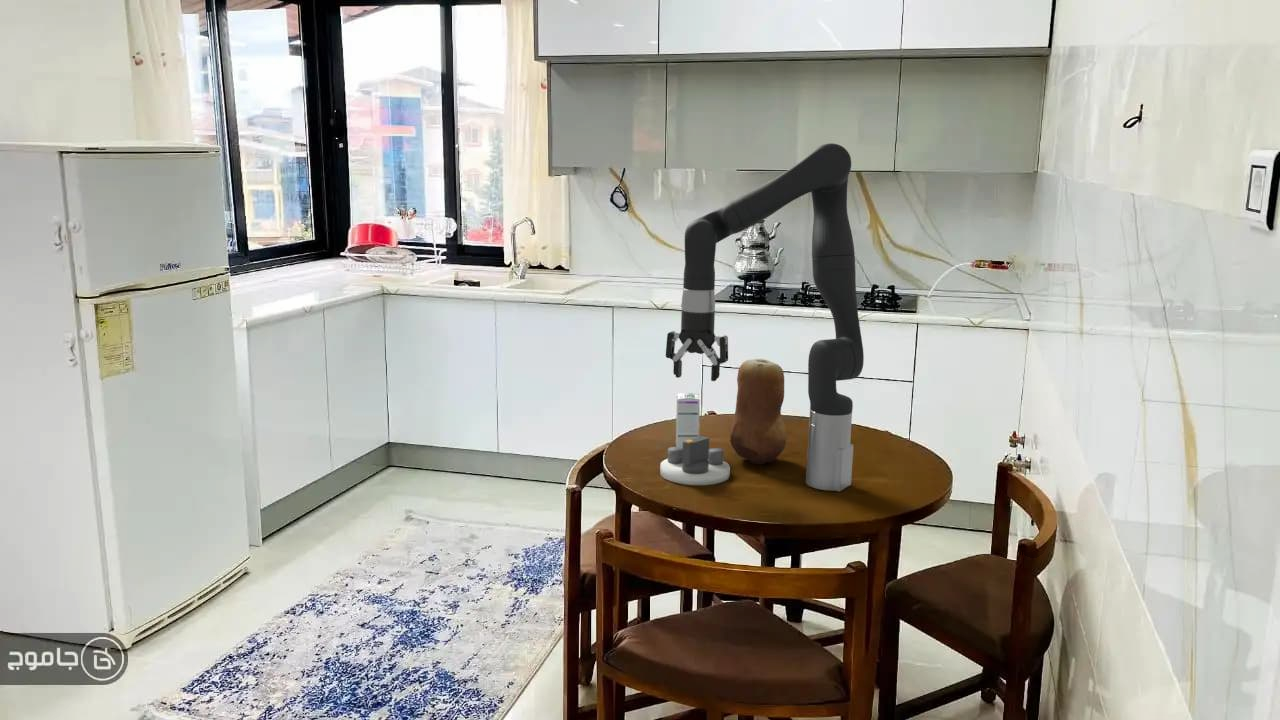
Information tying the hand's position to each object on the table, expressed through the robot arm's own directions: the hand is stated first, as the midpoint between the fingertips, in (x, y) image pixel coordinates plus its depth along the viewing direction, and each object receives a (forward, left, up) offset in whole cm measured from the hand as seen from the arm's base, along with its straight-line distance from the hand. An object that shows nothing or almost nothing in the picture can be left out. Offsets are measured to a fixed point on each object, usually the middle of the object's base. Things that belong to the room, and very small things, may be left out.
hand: (696, 378), depth 217 cm
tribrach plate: (-1, +1, -22) cm, 22 cm away
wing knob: (-3, +4, -20) cm, 21 cm away
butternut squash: (-7, -17, -22) cm, 29 cm away
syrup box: (+10, -12, -22) cm, 27 cm away
